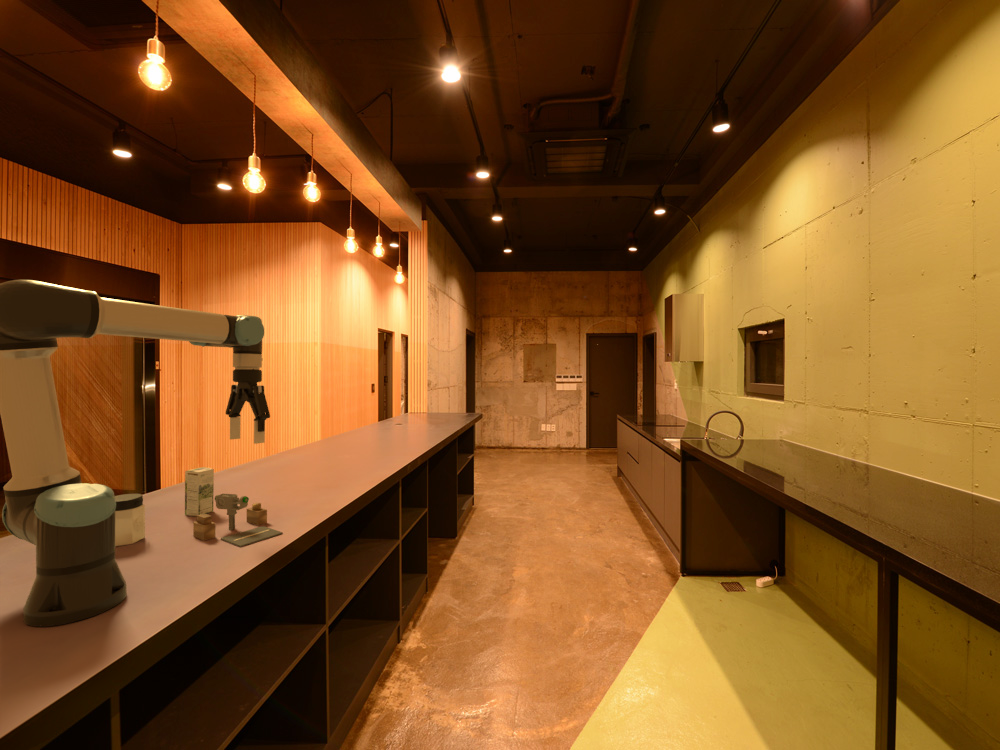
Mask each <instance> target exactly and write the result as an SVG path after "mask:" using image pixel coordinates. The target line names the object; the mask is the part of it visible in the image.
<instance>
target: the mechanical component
mask: <svg viewBox="0 0 1000 750" xmlns="http://www.w3.org/2000/svg"><path fill="white" fill-rule="evenodd" d="M214 501H215V507H216V509H218V510H226V515H227V516H228V531H233V530H235V529H236V514H237V513H238V512H237V511H239V510H242V509H244V508H247V507H248V505H249V504H248V502H249V501H250V500H249V497H248V496H246V495H242V496H240V498H239V497H238V494H237V493H219V494H216V495H215V496H214Z"/></svg>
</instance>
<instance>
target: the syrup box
mask: <svg viewBox="0 0 1000 750" xmlns="http://www.w3.org/2000/svg"><path fill="white" fill-rule="evenodd" d="M214 471H215V470H214V469H213V468H211V467H204V466H203V467H198V468H197V467H196V468H193V469H188V470H185V471H184V515H185V516H191V517H197V515H201V514H207V515H208V514H209V513H212V512H214V488H215V487H214V485H215V484H214V482H215V481H214V480H215V479H214V478H215V476H214V475H215V472H214Z"/></svg>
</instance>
